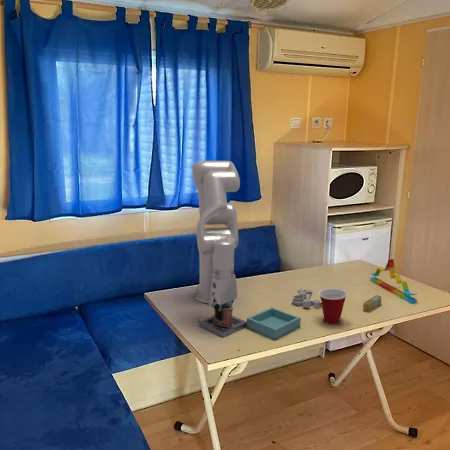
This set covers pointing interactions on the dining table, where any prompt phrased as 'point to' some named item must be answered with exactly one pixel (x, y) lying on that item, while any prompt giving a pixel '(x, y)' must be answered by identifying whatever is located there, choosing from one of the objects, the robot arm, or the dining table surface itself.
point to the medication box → (372, 303)
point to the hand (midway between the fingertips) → (223, 317)
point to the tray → (273, 323)
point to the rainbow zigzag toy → (402, 295)
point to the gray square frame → (223, 333)
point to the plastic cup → (332, 304)
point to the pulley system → (305, 300)
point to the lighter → (225, 316)
